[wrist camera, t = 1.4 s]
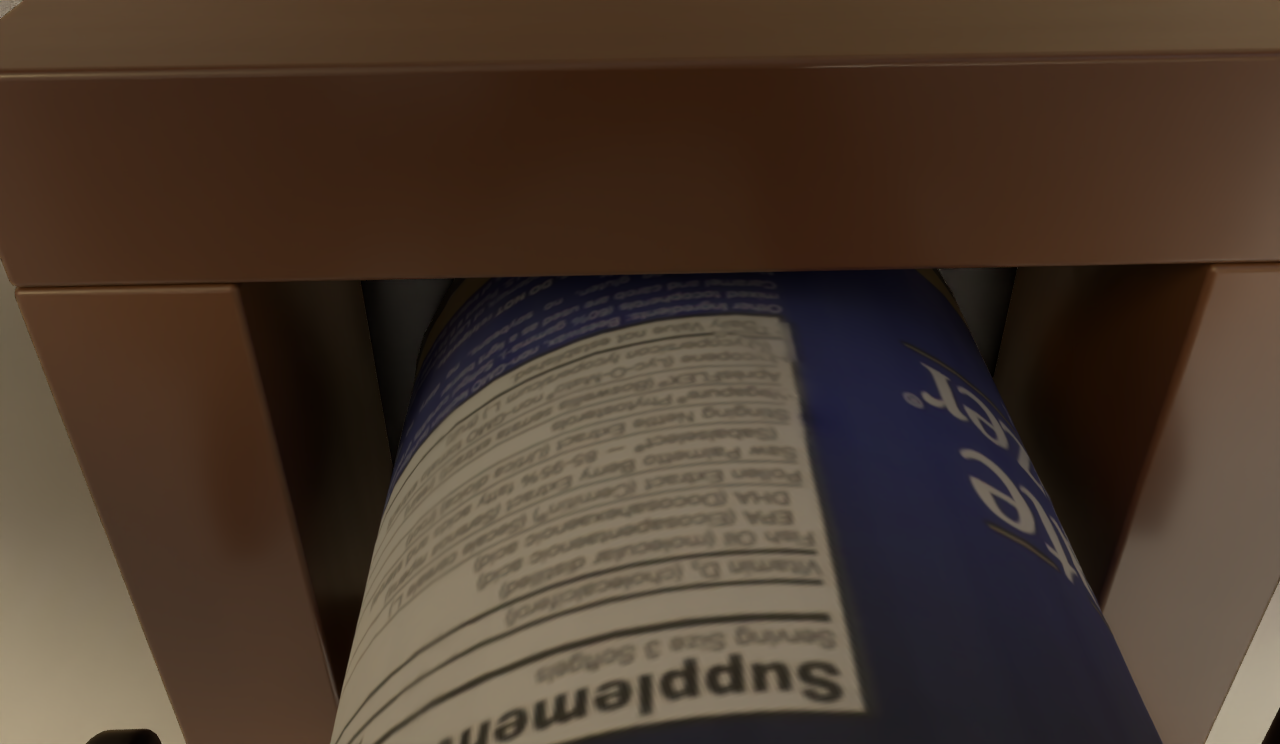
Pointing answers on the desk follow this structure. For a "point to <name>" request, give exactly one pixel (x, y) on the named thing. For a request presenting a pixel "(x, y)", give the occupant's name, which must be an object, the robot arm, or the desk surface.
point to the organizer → (634, 267)
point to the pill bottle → (722, 528)
